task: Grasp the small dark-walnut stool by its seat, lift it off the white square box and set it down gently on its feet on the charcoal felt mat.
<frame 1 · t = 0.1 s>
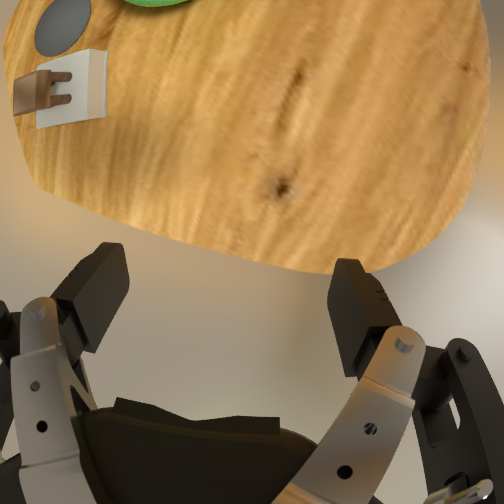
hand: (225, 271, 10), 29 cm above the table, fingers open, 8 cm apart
white square box: (78, 89, 30), on the table
walnut stool: (59, 90, 26), point 5 cm above the table, touching white square box
charcoal felt mat: (61, 23, 24), on the table
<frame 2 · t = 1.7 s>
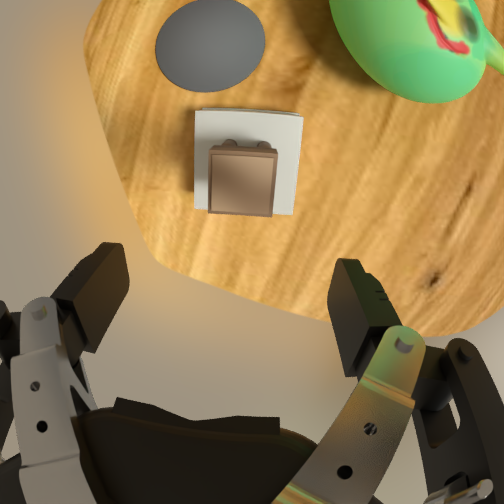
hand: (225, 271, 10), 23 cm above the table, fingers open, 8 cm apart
white square box: (248, 154, 30), on the table
walnut stool: (245, 163, 26), point 5 cm above the table, touching white square box
toy bird: (387, 30, 22), on the table
charcoal felt mat: (209, 42, 24), on the table
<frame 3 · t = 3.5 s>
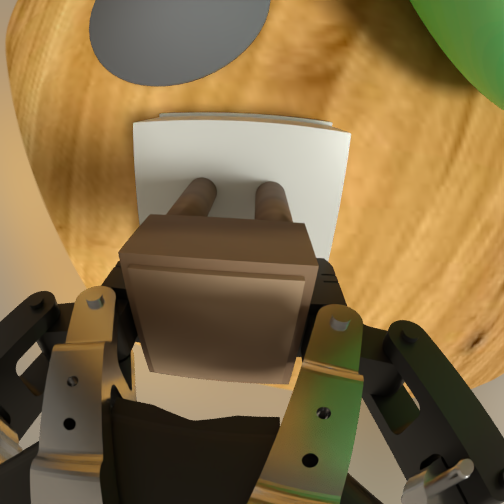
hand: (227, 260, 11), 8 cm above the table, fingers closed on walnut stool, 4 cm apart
white square box: (240, 192, 18), on the table
walnut stool: (234, 224, 14), point 5 cm above the table, touching white square box, gripper
toy bird: (456, 5, 10), on the table
charcoal felt mat: (173, 3, 12), on the table
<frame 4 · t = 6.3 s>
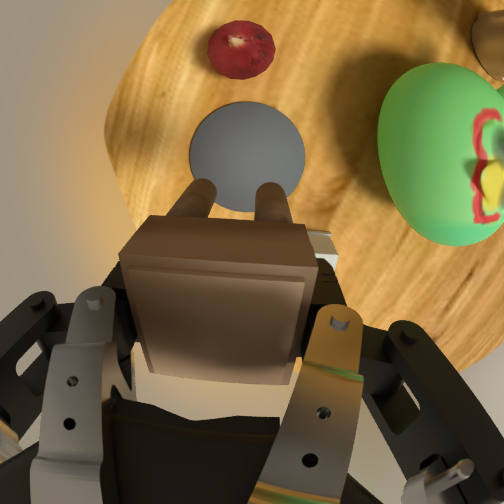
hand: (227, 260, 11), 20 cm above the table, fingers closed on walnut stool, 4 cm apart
onion: (243, 56, 23), on the table
white square box: (281, 266, 35), on the table
walnut stool: (234, 225, 14), point 17 cm above the table, touching gripper
toy bird: (422, 140, 26), on the table
charcoal felt mat: (247, 157, 28), on the table
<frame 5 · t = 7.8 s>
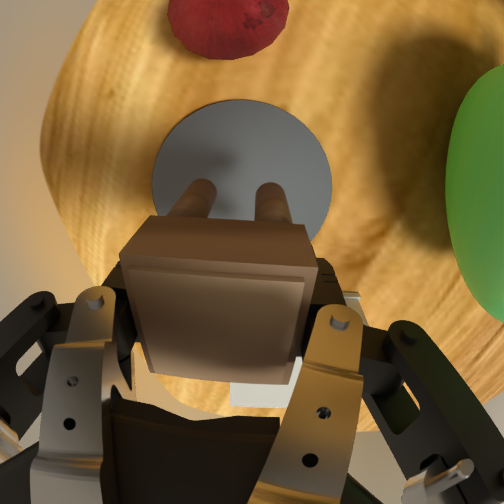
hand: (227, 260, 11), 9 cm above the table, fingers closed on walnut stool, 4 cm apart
onion: (234, 27, 13), on the table
white square box: (289, 335, 25), on the table
walnut stool: (234, 225, 14), point 5 cm above the table, touching gripper
toy bird: (486, 166, 16), on the table
charcoal felt mat: (240, 190, 18), on the table
when the fingers open (5 cm above the table, at t = 9.0 s): walnut stool stays where it is, resting on charcoal felt mat.
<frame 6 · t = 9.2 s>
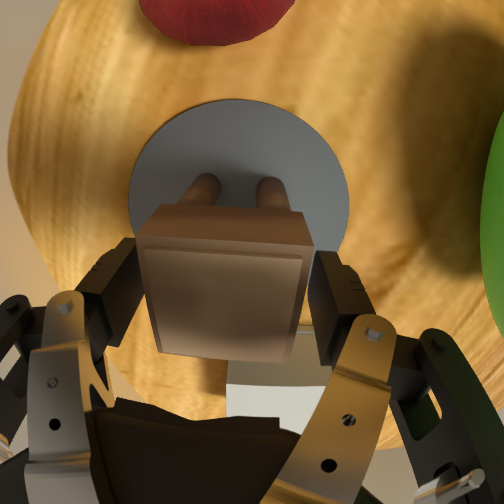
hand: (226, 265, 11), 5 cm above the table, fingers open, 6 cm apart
onion: (228, 9, 10), on the table
white square box: (293, 369, 22), on the table
walnut stool: (237, 217, 15), resting on charcoal felt mat
charcoal felt mat: (236, 214, 15), on the table
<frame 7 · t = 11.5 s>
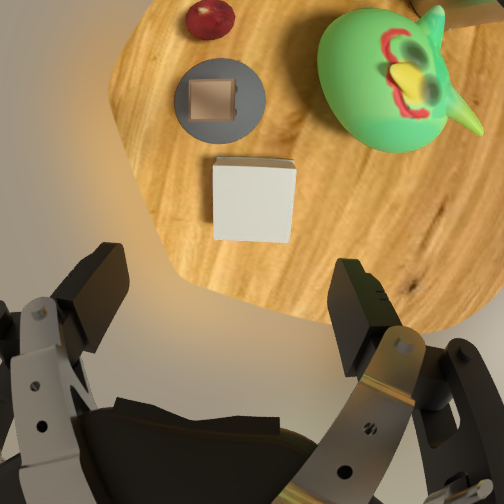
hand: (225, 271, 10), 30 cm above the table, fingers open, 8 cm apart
onion: (215, 26, 28), on the table
white square box: (253, 193, 39), on the table
walnut stool: (219, 100, 33), resting on charcoal felt mat
toy bird: (369, 80, 31), on the table
charcoal felt mat: (219, 100, 33), on the table
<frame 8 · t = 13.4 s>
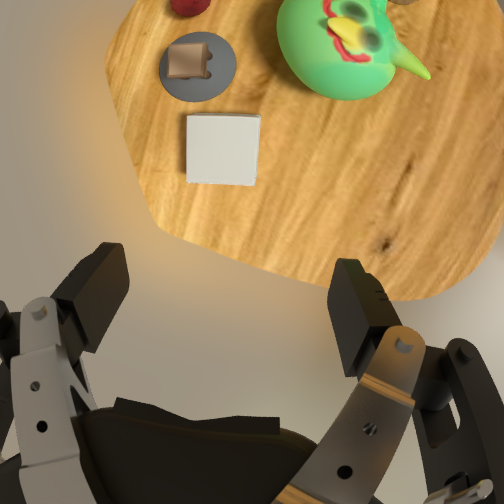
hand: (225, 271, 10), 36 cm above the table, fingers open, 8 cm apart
onion: (196, 7, 30), on the table
white square box: (225, 145, 42), on the table
walnut stool: (197, 66, 35), resting on charcoal felt mat
toy bird: (329, 47, 33), on the table
charcoal felt mat: (197, 66, 36), on the table
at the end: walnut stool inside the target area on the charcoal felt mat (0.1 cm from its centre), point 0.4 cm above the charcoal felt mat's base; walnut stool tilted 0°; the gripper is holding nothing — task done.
